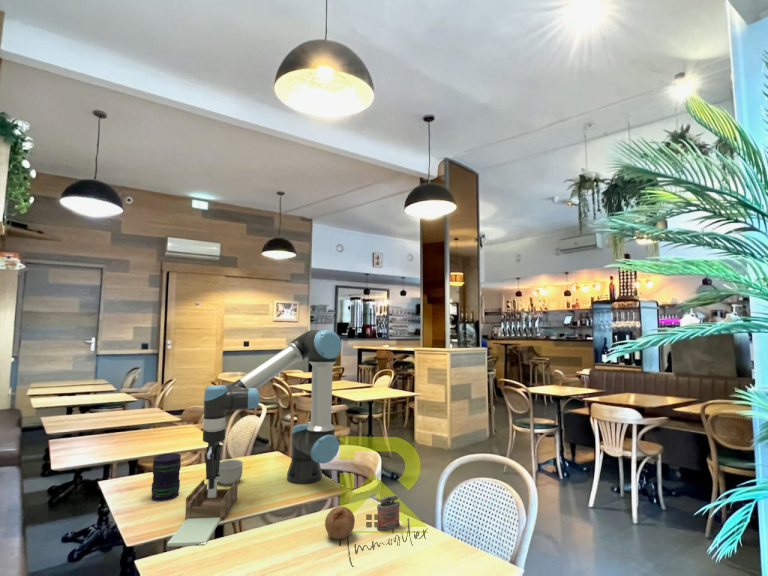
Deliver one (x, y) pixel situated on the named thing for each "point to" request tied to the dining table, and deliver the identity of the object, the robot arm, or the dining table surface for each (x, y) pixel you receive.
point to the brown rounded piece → (339, 522)
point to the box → (210, 502)
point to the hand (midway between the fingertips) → (212, 496)
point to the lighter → (388, 513)
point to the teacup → (229, 471)
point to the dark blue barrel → (166, 477)
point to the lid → (194, 531)
